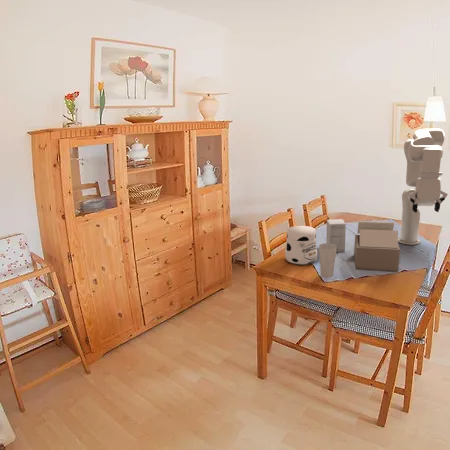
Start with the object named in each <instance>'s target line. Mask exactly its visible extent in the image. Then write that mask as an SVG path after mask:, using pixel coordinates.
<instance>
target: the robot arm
mask: <svg viewBox="0 0 450 450" xmlns="http://www.w3.org/2000/svg"><path fill="white" fill-rule="evenodd" d="M445 138H446V137H445V132H444V130H443V129H441V128H423V129H418V130H416V131H415V132H414V133H413V135H412V139H408V140H406V141H405V142H404V145H403V151H404V156H405V159H406V176H405V177H406V178H405V183H406V186H408V187H413V188H410V189H405V190H404V191H402V194H401V201H402V202H401V203H402V213H401V225H400V234H399V235H400V236H398V243H400V244H403V245H410V246H411V245H412V246H414V245H419V244H421V239H420V238H419V230H420V221H421V212H420V210H419V209H418V207H433V206H434V211H435V212H436V213H439V211H440V209H441V204H442V203H443V202H444V201H445V200H446V198H447V196H448V195H449V194H448V193H446V192H444V191H443V190H442V189H441V187H442V185H441V178H440V176H443V172H440V169H441V162H442V161H441V159H442V158H443V153H444V150H443V149H442V147H443V145H444V142H445ZM441 195H442V196H441Z"/></svg>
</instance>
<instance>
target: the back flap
mask: <svg viewBox="0 0 450 450" xmlns="http://www.w3.org/2000/svg"><path fill="white" fill-rule="evenodd" d="M394 226H395V222H393V221H391V222H389V221H387V222H385V221H383V222H382V221H358V224H357V234H356V235H360V229H361V230H392V231H394Z"/></svg>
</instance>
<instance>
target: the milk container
mask: <svg viewBox="0 0 450 450" xmlns="http://www.w3.org/2000/svg"><path fill="white" fill-rule="evenodd" d="M318 252H319V251H318V248H317V231H316V229H315V228H314V227H312V226H308V225H296V226H295V225H294V226H291V227H288V228H287V229H286V247H285V249H284V257H285V259H286V261H287V262H288V263H289V264H293V265H296V266H306V265H312V264H313V263H315V262H316V261H317V259H318V254H319V253H318Z"/></svg>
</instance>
